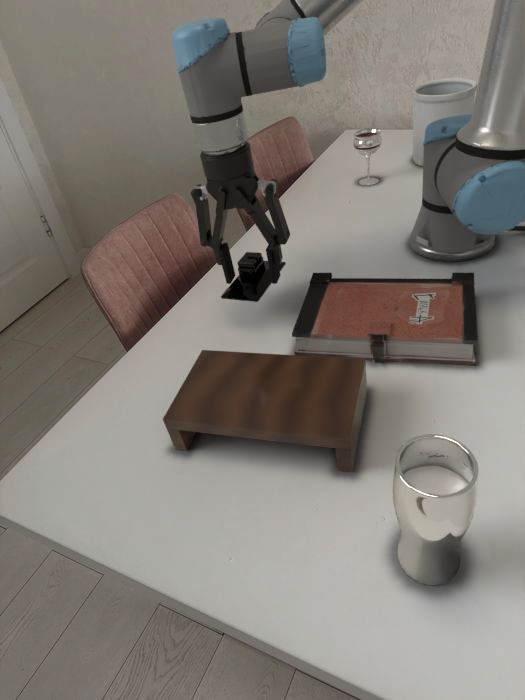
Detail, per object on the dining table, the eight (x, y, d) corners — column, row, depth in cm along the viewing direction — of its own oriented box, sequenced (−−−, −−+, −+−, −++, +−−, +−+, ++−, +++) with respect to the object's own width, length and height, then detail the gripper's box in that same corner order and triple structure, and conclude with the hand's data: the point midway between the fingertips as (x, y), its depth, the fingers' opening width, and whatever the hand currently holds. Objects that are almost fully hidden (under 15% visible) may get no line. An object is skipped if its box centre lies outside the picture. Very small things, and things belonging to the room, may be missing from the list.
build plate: (257, 303, 81) (252, 278, 78) (219, 299, 84) (212, 275, 82) (286, 263, 90) (282, 240, 87) (250, 261, 93) (245, 238, 90)
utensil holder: (478, 163, 125) (486, 86, 114) (417, 172, 126) (419, 98, 116) (460, 145, 136) (466, 74, 125) (405, 154, 138) (406, 84, 127)
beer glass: (384, 531, 54) (383, 439, 44) (449, 520, 53) (461, 425, 44) (404, 595, 48) (407, 507, 39) (476, 584, 48) (496, 492, 38)
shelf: (367, 391, 70) (365, 359, 66) (352, 472, 60) (349, 439, 56) (211, 379, 78) (202, 349, 74) (175, 449, 68) (162, 419, 64)
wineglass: (386, 177, 128) (386, 128, 120) (376, 187, 124) (374, 137, 116) (361, 175, 131) (359, 128, 124) (350, 185, 127) (348, 137, 120)
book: (294, 358, 78) (290, 333, 75) (316, 296, 91) (313, 272, 88) (474, 368, 70) (478, 341, 67) (471, 298, 82) (474, 272, 79)
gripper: (297, 130, 72) (315, 267, 86) (172, 143, 79) (207, 268, 93) (285, 149, 67) (306, 291, 81) (151, 161, 73) (192, 291, 87)
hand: (253, 279), depth 87 cm, fingers closed on build plate, 8 cm apart
